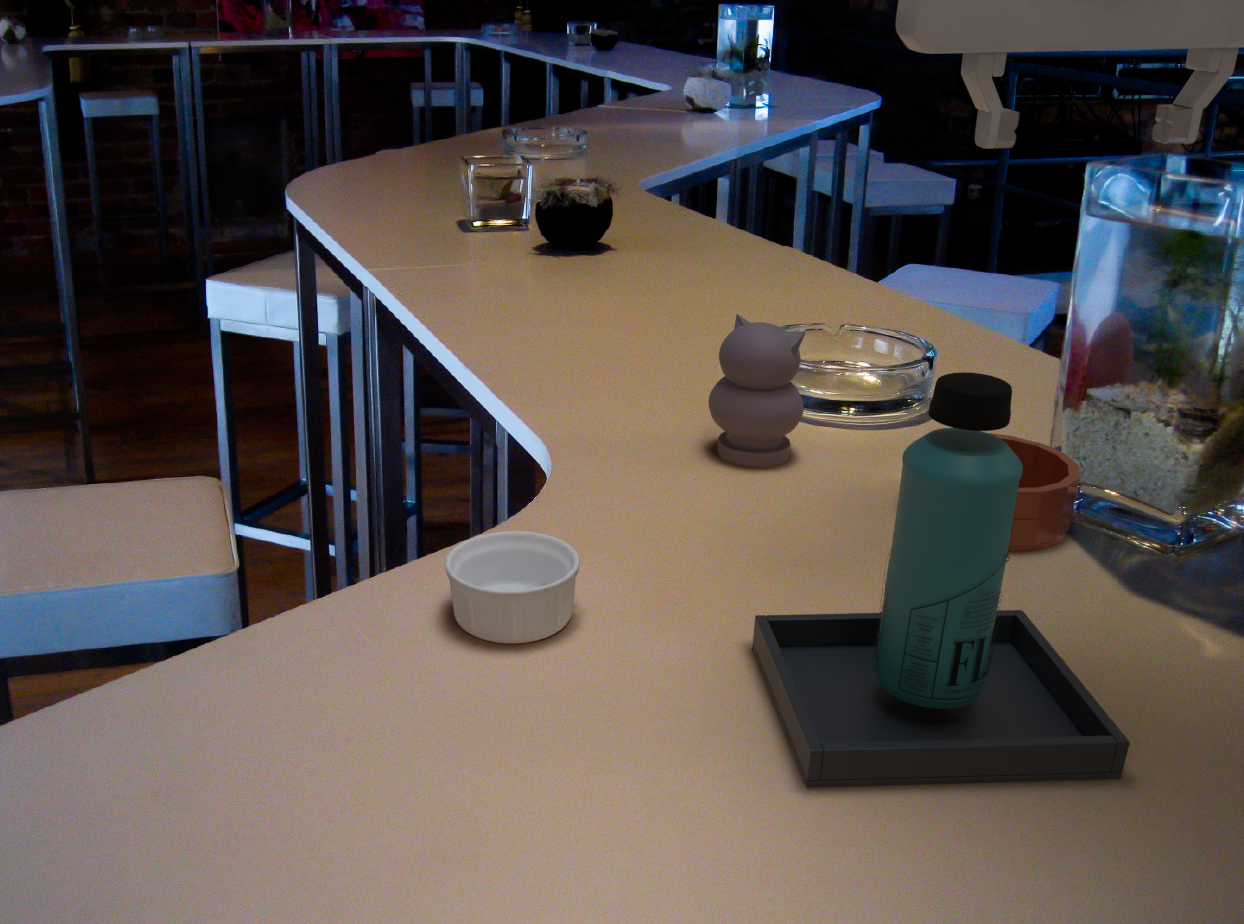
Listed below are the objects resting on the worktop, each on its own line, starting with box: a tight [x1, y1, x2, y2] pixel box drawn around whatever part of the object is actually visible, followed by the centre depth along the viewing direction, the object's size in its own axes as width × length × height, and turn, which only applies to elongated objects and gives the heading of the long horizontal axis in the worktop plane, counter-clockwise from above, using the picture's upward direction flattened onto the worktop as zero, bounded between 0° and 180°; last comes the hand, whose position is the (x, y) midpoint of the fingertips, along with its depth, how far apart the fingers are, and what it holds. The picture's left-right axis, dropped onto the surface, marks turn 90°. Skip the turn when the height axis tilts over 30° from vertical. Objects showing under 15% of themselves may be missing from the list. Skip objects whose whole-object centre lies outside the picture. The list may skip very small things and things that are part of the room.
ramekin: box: [444, 530, 581, 645], centre depth 81 cm, size 9×9×4 cm
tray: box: [751, 609, 1131, 789], centre depth 72 cm, size 17×14×2 cm
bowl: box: [988, 432, 1081, 553], centre depth 95 cm, size 12×12×5 cm
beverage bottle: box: [873, 371, 1023, 709], centre depth 68 cm, size 6×7×20 cm
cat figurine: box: [708, 313, 807, 468], centre depth 106 cm, size 8×8×12 cm
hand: (1083, 144), depth 62 cm, fingers open, 8 cm apart
